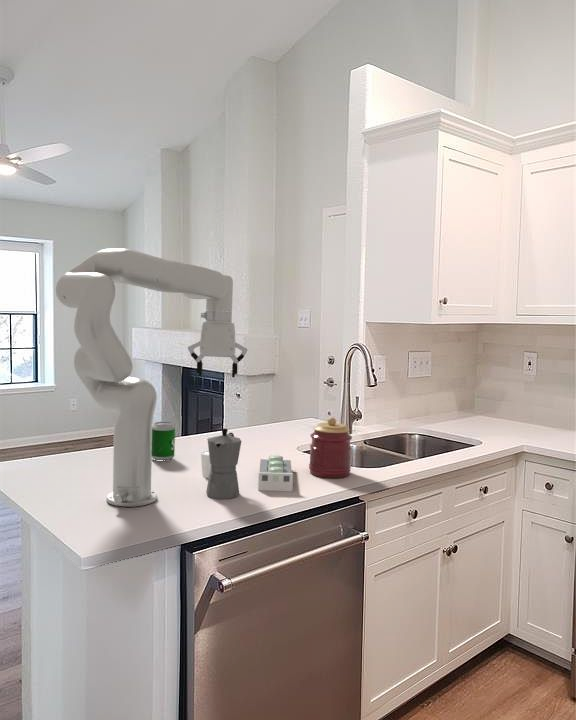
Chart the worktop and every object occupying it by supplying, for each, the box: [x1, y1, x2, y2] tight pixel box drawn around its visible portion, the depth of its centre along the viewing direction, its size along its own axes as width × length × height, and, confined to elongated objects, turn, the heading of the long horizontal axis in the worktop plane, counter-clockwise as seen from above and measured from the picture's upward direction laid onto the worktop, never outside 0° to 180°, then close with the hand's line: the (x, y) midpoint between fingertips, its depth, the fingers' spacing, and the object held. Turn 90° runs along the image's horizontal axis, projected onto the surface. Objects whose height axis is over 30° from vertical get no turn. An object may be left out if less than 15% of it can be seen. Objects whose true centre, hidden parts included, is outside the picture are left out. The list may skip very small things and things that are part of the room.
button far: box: [268, 454, 284, 462], centre depth 188 cm, size 4×4×3 cm
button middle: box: [268, 461, 283, 468], centre depth 181 cm, size 4×4×3 cm
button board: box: [257, 458, 294, 492], centre depth 181 cm, size 24×10×5 cm, turn 1°
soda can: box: [152, 421, 176, 461], centre depth 199 cm, size 8×8×12 cm
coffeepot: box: [205, 428, 242, 500], centre depth 165 cm, size 15×9×18 cm, turn 171°
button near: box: [268, 467, 284, 473], centre depth 174 cm, size 4×4×3 cm
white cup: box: [200, 450, 211, 479], centre depth 182 cm, size 7×7×7 cm
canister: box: [308, 417, 353, 479], centre depth 190 cm, size 13×13×18 cm
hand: (216, 376), depth 178 cm, fingers open, 9 cm apart
